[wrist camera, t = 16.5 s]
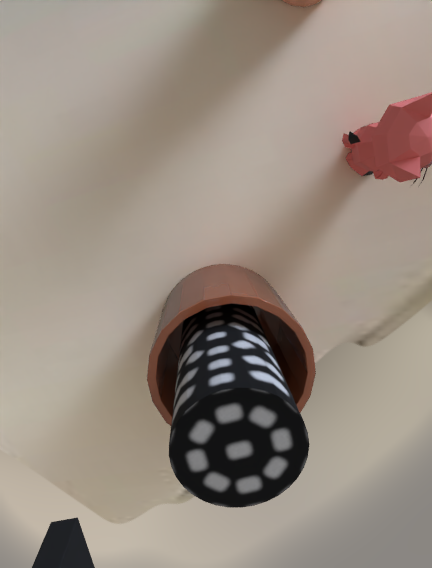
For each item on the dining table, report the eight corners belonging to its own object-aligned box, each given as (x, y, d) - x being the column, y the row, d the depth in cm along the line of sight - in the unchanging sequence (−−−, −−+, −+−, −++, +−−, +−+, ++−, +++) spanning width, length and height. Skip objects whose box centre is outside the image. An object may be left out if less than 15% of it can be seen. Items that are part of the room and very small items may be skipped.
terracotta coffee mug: (149, 276, 41) (130, 313, 29) (274, 253, 41) (305, 281, 29) (183, 422, 46) (178, 504, 34) (295, 402, 46) (328, 476, 34)
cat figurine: (385, 188, 39) (462, 191, 28) (321, 180, 39) (373, 179, 27) (401, 116, 38) (491, 86, 26) (334, 107, 37) (396, 72, 26)
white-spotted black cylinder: (193, 368, 43) (189, 520, 23) (173, 300, 41) (151, 407, 21) (264, 350, 43) (320, 489, 23) (248, 281, 40) (294, 371, 21)
